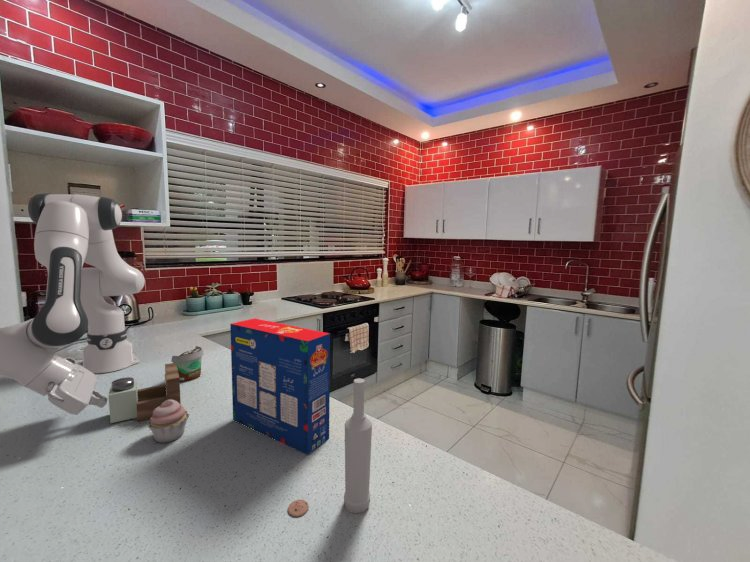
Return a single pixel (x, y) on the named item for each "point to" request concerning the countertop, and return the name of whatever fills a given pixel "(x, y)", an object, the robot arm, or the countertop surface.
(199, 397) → the countertop surface
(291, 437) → the pasta box
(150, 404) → the walnut mount
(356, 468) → the bottle
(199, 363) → the food container
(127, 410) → the sliding knob
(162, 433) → the cupcake
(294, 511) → the cookie
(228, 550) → the countertop surface
